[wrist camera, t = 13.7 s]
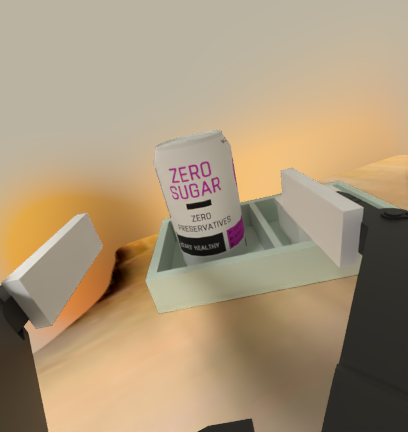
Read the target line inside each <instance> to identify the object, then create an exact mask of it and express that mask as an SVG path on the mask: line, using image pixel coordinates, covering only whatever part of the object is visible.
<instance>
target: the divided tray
mask: <svg viewBox="0 0 408 432" xmlns="http://www.w3.org/2000/svg"><path fill="white" fill-rule="evenodd" d="M323 185H324V186H327V185H332V186H334V187H335V188H337V189H339V190H341V191H343V192H345V193H349V194H351V195H353V196H355V197H356V198H359V199H361V200H362V201H365V202H367V203H368V204H370V205H372V206H374V207H376V208H378V209H381V208H398V207H396V206H394V205H392V204H389V203H387V202H385V201H383V200H381V199H379V198H376V197H374V196H372V195H370V194H368V193H366V192H363V191H361V190H359V189H357V188H355V187H353V186H350V185H348V184H346V183H344V182H342V181H337V182H332V183H328V184H323ZM281 195H282V194H278V195H273V196H269V197H264V198H259V199H255V200H250V201H246V202H241V203H240V207H241V213H242V219H243V225H244V232H245V238H246V244H247V252H246V254H244V255H239V256H234V257H229V258H224V259H219V260H215V261H210V262H205V263H200V264H195V265H190V266H187V265H186V264H185V263H184V259H183V256H182V253H181V250H180V247H179V243H178V240H177V237H176V234H175V231H174V227H173V224H172V221H171V218H168V219H164V220H163V222H162V226H161V229H160V232H159V236H158V239H157V243H156V246H155V249H154V253H153V256H152V260H151V263H150V267H149V270H148V273H147V277H146V280H145V282H146V284H147V286H148V289H149V291H150V294H151V296H152V298H153V301H154V303H155V305H156V308H157V310H158V312H159V314H160V313H165V312H170V311H175V310H181V309H186V308H191V307H196V306H201V305H206V304H211V303H216V302H221V301H226V300H231V299H237V298H242V297H247V296H252V295H257V294H262V293H267V292H272V291H277V290H282V289H287V288H293V287H298V286H303V285H308V284H313V283H318V282H323V281H328V280H333V279H338V278H343V277H349V276H354V275H358V274H359V269H360V265H361V260H362V255H361V254H360V253H359V257H358V265H354V266H349V267H344V268H339V267H338V266H337V265H336V264H335V263H334V262H333V261H332V259H331V258H330V257H329V256H328V255H327V254H326V253H325V252H324V251H323V250H322V249H321V248H320V247H319V246H318V245H317V244H316V243H315V242H314V241H313V240H311V241H306V242H302V243H297V244H292V245H291V243H290V242H289V241H288V239H287V238H286V237H285V235H284V234H283V233H282V231H281V230H280V228H279V218H278V207H277V205H276V204H275V203H274V197H277V196H281ZM398 209H400V208H398Z"/></svg>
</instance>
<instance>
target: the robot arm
mask: <svg viewBox="0 0 408 432" xmlns="http://www.w3.org/2000/svg"><path fill="white" fill-rule="evenodd" d="M281 181H282V198H283V209H284V210H285V211H286V212H287V213H288V214H289V215H290V216H291V217H292V218H293V220H294V221H295V222H296V223H297V224H298V225H299V226H300V227H301V228H302V229H303V230H304V231H305V232H306V233H307V234H308V235H309V236H310V237H311V238H312V239H313V241H314V242H315V243H316V244H317V245H318V246H319V247H320V248H321V249H322V250H323V251H324V252H325V253H326V254H327V255H328V256H329V257H330V258H331V259H332V261H333V262H334V263H335V264H336V265H337V266H338V267H339V268H344V267H349V266H354V265H358V257H359V253H360V254H361V255H362V260H361V265H360V269H359V274H358V278H357V283H356V288H355V292H354V297H353V302H352V306H351V311H350V316H349V320H348V325H347V329H346V334H345V339H344V343H343V348H342V353H341V357H340V361H339V364H337V366H336V369H335V373H334V377H333V382H332V386H331V391H330V395H329V400H328V404H327V409H326V413H325V418H324V422H323V426H322V431H321V432H408V211H407V210H403V209H398V208H381V209H378V208H376V207H374V206H372V205H370V204H368V203H367V202H365V201H362V200H361V199H359V198H356V197H355V196H353V195H351V194H349V193H345V192H341V191H336V192H335V191H333V190H331V189H329V188H328V187H326V186H324V185H322V184H320V183H319V182H317V181H315V180H313V179H311V178H310V177H308V176H306V175H304V174H302V173H301V172H299V171H297V170H295V169H293V168H291V169H285V170H281ZM102 247H103V245H102V243H101V241H100V239H99V237H98V235H97V233H96V230H95V229H94V226H93V224H92V222H91V220H90V218H89V216H88V214H87V213H84V214H79V215H76V216H75V217H73V219H71V220H70V221H69V222H68V223H67V224H66V225H65V226H64V227H62V228H61V229H60V230H59V231H58V232H57V233H56V234H55V235H54V236H53V237H51V238H50V239H49V240H48V241H47V242H46V243H45V244H44V245H43V246H41V247H40V248H39V249H38V250H37V251H36V252H35V253H34V254H33V255H31V256H30V257H29V258H28V259H27V260H26V261H25V262H24V263H23V264H21V265H20V266H19V267H18V268H17V269H16V270H15V271H14V272H13V273H12V274H11V275H10V276H8V277H7V278H6V279H5V280H4V281H3V282H2V283H1V284H2V285H1V286H0V432H48V428H47V423H46V418H45V413H44V408H43V403H42V398H41V393H40V388H39V383H38V379H37V374H36V369H35V364H34V359H33V354H32V350H31V345H30V339H29V334H28V332H27V331H26V329H25V328H24V325H25V324H26V323H27V321H28V320H30V321H31V323H32V324H33V325H34V326H35V328H36V329H37V328H42V327H47V326H52V325H53V323H54V322H55V320H56V319H57V317H58V316H59V314H60V312H61V311H62V309H63V308H64V306H65V305H66V303H67V302H68V300H69V299H70V297H71V296H72V294H73V292H74V291H75V289H76V288H77V286H78V285H79V283H80V282H81V280H82V279H83V277H84V276H85V274H86V272H87V271H88V269H89V268H90V266H91V265H92V263H93V262H94V260H95V259H96V257H97V255H98V254H99V252H100V251H101V249H102ZM198 432H255V431H254V427H253V423H252V418H251V419H246V420H240V421H234V422H229V423H223V424H217V425H211V426H207V427H205V428H204V429H202V430H200V431H198Z"/></svg>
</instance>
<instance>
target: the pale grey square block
mask: <svg viewBox="0 0 408 432" xmlns="http://www.w3.org/2000/svg"><path fill="white" fill-rule="evenodd" d="M326 187H328V188H329V189H331V190H333V191H335V192H336V191H341V190H339V189H337V188H335V187H334V186H332V185H327V186H326ZM341 192H343V191H341ZM274 203H275V204H276V205H277V207H278V218H279V228H280V230H281V231H282V233H283V234H284V235H285V237H286V238H287V239H288V241H289V242H290V243H291V245H292V244H297V243H302V242H306V241H311V240H313V239H312V238H311V237H310V236H309V235H308V234H307V233H306V232H305V231H304V230H303V229H302V228H301V227H300V226H299V225H298V224H297V223H296V222H295V221H294V220H293V218H292V217H291V216H290V215H289V214H288V213H287V212H286V211H285V210H284V209H283V198H282V195H281V196H277V197H274Z"/></svg>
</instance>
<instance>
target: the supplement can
mask: <svg viewBox="0 0 408 432" xmlns="http://www.w3.org/2000/svg"><path fill="white" fill-rule="evenodd" d="M155 149H156V153H155V158H154V166H155V169H156V173H157V176H158V179H159V183H160V186H161V189H162V192H163V195H164V199H165V202H166V205H167V208H168V211H169V215H170V218H171V221H172V224H173V227H174V231H175V234H176V237H177V240H178V243H179V247H180V250H181V253H182V256H183V259H184V263H185V264H186V265H187V266H190V265H195V264H200V263H205V262H210V261H215V260H219V259H224V258H229V257H234V256H239V255H244V254H246V252H247V244H246V238H245V232H244V225H243V219H242V213H241V207H240V202H239V195H238V189H237V183H236V177H235V171H234V164H233V159H232V152H231V146H230V144H229V142H228V141H227V140H226V139H225V137H224V136H223V134H222V131H221V130H214V131H207V132H202V133H197V134H193V135H188V136H184V137H180V138H176V139H173V140H170V141H166V142H163V143H160V144H158V145H156V146H155Z"/></svg>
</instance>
